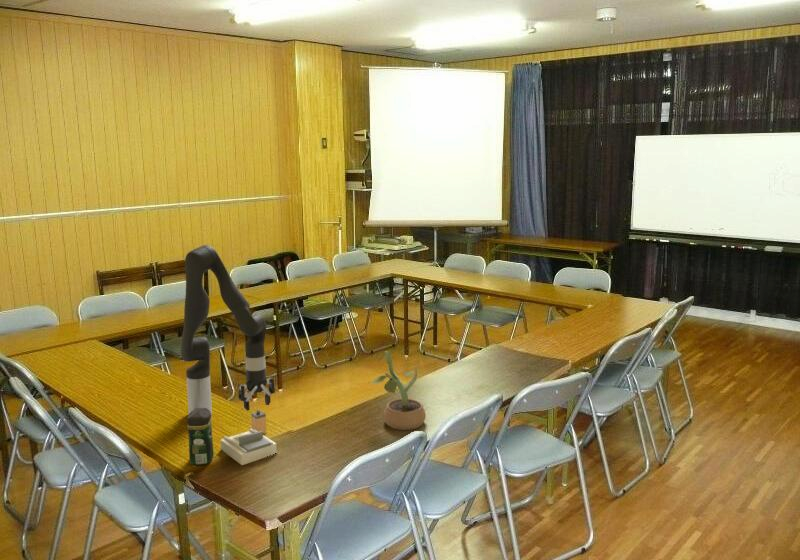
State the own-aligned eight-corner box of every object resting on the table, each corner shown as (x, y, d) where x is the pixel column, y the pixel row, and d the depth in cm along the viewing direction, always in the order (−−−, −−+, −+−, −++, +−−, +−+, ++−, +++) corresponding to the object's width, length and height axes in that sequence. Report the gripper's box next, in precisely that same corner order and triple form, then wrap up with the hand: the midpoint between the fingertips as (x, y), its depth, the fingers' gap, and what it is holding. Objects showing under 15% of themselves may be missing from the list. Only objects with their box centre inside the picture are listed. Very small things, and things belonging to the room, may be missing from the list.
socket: (221, 449, 252) (220, 437, 251) (255, 439, 261) (254, 427, 260) (241, 465, 240) (241, 452, 239) (276, 453, 249) (276, 441, 248)
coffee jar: (193, 454, 248) (190, 406, 244) (215, 453, 249) (212, 405, 245) (187, 466, 239) (183, 416, 235) (210, 465, 239) (207, 416, 236)
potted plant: (426, 414, 285) (427, 345, 279) (424, 432, 267) (425, 359, 261) (372, 412, 286) (372, 344, 280) (367, 430, 269) (366, 357, 263)
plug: (252, 432, 266) (251, 410, 264) (261, 429, 269) (260, 408, 267) (257, 436, 263) (256, 413, 262) (266, 433, 266) (265, 411, 264)
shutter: (239, 445, 245) (238, 437, 245) (261, 438, 251) (261, 430, 250) (247, 451, 241) (247, 443, 240) (270, 444, 246) (270, 436, 246)
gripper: (243, 373, 253) (245, 414, 256) (277, 365, 262) (278, 405, 265) (234, 368, 259) (236, 408, 262) (267, 361, 268) (269, 400, 271)
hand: (257, 407), depth 263 cm, fingers open, 8 cm apart
